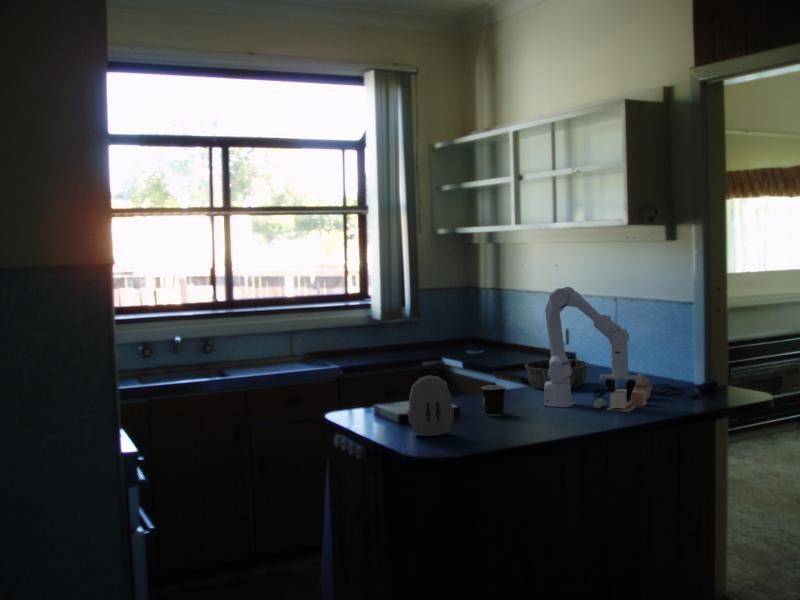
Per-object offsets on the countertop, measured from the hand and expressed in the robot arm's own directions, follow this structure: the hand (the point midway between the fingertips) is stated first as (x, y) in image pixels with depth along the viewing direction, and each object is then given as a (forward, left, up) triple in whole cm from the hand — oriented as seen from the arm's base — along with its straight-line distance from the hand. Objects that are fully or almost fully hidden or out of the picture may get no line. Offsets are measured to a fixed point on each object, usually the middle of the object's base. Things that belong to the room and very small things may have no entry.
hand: (621, 400), depth 287 cm
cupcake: (+2, +20, -3) cm, 20 cm away
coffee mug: (-39, -22, -3) cm, 45 cm away
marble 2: (-8, +2, -3) cm, 9 cm away
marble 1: (-8, -2, -3) cm, 9 cm away
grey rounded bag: (-44, -60, -3) cm, 75 cm away
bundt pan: (-37, +36, -3) cm, 52 cm away
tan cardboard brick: (+2, +9, -3) cm, 10 cm away
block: (0, 0, -2) cm, 2 cm away
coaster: (0, 0, -3) cm, 3 cm away
